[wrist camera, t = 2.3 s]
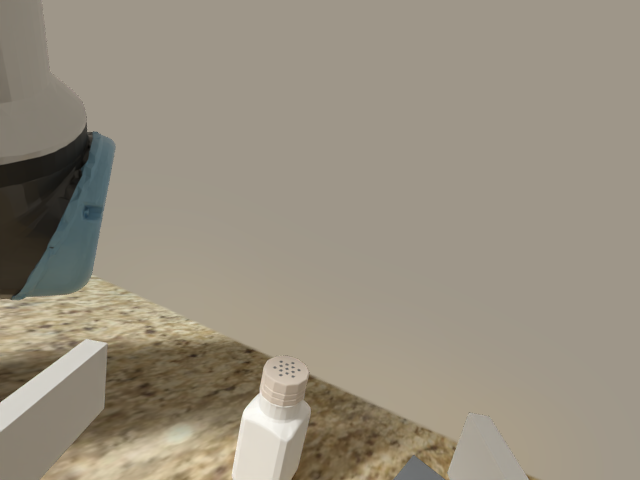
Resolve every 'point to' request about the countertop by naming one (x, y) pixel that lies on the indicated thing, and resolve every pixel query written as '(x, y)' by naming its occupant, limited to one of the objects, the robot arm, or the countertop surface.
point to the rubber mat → (417, 471)
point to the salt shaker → (274, 423)
